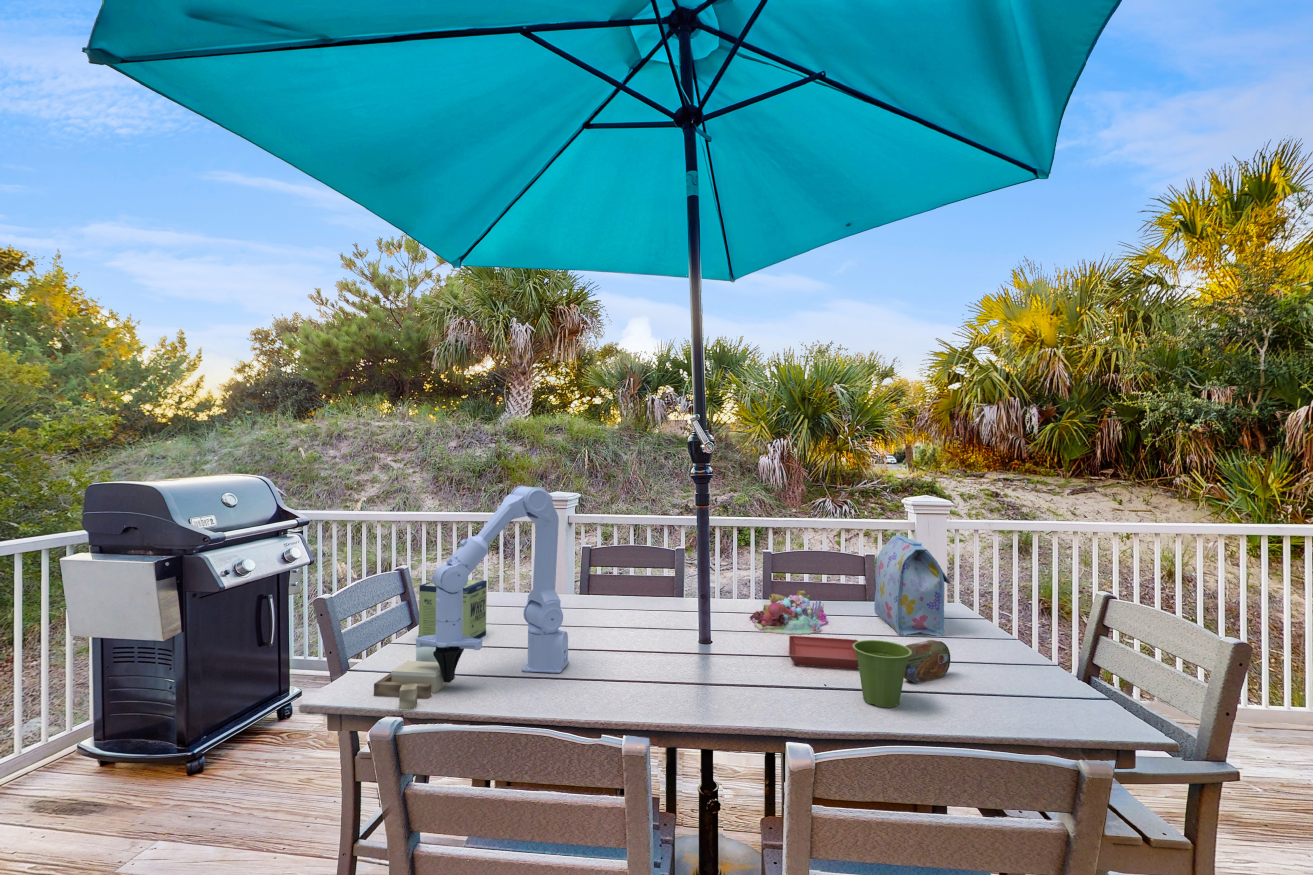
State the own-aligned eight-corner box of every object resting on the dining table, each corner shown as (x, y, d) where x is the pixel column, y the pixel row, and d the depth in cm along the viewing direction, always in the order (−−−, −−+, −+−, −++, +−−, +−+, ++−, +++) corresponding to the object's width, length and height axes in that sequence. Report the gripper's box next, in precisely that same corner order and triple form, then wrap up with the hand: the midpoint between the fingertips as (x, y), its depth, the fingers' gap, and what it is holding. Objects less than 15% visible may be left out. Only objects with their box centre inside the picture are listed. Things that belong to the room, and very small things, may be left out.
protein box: (469, 645, 172) (470, 587, 173) (417, 641, 176) (418, 584, 176) (487, 634, 183) (488, 580, 183) (437, 631, 186) (438, 577, 186)
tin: (906, 685, 144) (906, 648, 145) (895, 681, 147) (895, 644, 147) (951, 675, 151) (951, 639, 152) (940, 671, 154) (940, 636, 154)
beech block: (417, 703, 133) (417, 683, 133) (414, 708, 130) (415, 688, 130) (401, 704, 132) (401, 684, 132) (399, 710, 129) (399, 690, 129)
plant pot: (880, 716, 127) (880, 659, 127) (840, 695, 138) (840, 643, 138) (925, 707, 132) (924, 652, 132) (883, 688, 143) (883, 637, 143)
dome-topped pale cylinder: (446, 664, 157) (446, 635, 158) (435, 672, 151) (435, 642, 152) (423, 662, 158) (423, 634, 158) (411, 671, 152) (411, 641, 152)
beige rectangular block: (449, 682, 145) (449, 662, 145) (435, 694, 138) (435, 673, 138) (407, 680, 147) (407, 660, 147) (390, 691, 140) (391, 671, 140)
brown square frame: (454, 677, 148) (454, 666, 148) (428, 698, 135) (428, 686, 135) (404, 674, 150) (405, 663, 150) (373, 695, 137) (373, 683, 137)
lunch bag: (955, 637, 182) (955, 544, 183) (896, 637, 183) (896, 543, 183) (923, 617, 205) (923, 534, 206) (871, 616, 205) (870, 533, 206)
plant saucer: (788, 646, 174) (788, 634, 175) (858, 651, 171) (858, 638, 171) (788, 668, 157) (788, 654, 157) (865, 674, 153) (865, 660, 153)
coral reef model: (742, 615, 208) (742, 586, 208) (812, 613, 211) (812, 585, 211) (764, 637, 183) (764, 604, 183) (843, 634, 186) (843, 602, 186)
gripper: (409, 622, 139) (408, 685, 139) (473, 624, 137) (472, 688, 137) (424, 614, 146) (424, 674, 146) (486, 616, 144) (485, 677, 144)
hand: (448, 680), depth 142 cm, fingers closed
